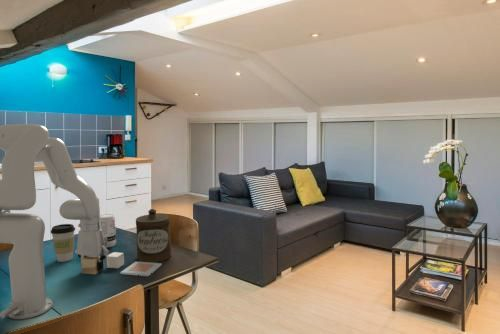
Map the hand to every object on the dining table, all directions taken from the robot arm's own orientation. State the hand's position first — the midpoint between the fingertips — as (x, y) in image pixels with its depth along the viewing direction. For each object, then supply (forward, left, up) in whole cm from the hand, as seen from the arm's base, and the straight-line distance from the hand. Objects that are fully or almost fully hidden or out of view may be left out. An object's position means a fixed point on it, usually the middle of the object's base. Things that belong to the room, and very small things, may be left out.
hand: (93, 269), depth 152 cm
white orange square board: (+5, -19, -1) cm, 20 cm away
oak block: (0, 0, -1) cm, 1 cm away
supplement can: (+31, +13, -1) cm, 34 cm away
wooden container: (+20, -17, -1) cm, 27 cm away
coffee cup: (+10, +21, -1) cm, 23 cm away
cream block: (+7, -6, -1) cm, 9 cm away
